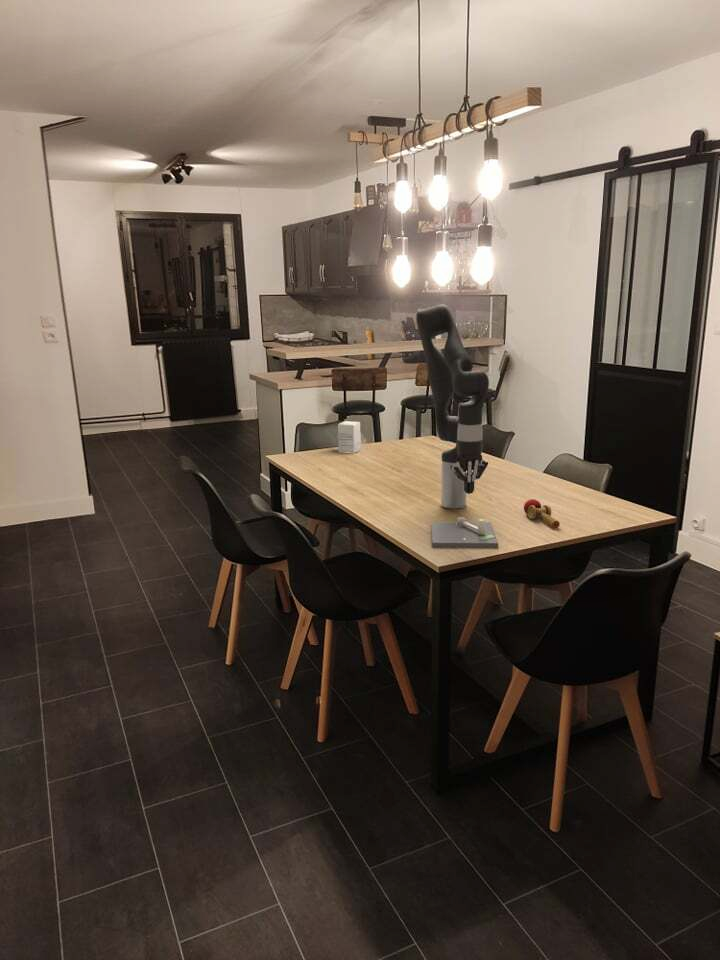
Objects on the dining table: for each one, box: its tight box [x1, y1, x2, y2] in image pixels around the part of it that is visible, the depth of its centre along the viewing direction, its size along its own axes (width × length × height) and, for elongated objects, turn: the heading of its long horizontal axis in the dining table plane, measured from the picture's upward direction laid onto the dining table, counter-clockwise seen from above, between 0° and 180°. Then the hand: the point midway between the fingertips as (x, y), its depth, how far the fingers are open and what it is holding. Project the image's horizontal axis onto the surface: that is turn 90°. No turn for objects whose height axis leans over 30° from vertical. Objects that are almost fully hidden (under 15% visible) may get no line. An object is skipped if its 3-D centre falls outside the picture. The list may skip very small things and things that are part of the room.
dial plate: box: [430, 521, 499, 549], centre depth 217 cm, size 20×20×2 cm
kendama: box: [523, 498, 561, 530], centre depth 230 cm, size 8×6×18 cm
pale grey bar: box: [456, 516, 486, 535], centre depth 218 cm, size 14×3×5 cm, turn 26°
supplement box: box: [337, 420, 362, 454], centre depth 340 cm, size 9×9×15 cm
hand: (469, 492), depth 208 cm, fingers closed
